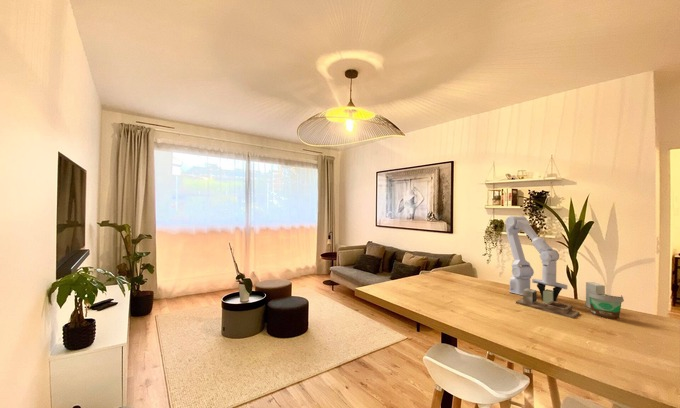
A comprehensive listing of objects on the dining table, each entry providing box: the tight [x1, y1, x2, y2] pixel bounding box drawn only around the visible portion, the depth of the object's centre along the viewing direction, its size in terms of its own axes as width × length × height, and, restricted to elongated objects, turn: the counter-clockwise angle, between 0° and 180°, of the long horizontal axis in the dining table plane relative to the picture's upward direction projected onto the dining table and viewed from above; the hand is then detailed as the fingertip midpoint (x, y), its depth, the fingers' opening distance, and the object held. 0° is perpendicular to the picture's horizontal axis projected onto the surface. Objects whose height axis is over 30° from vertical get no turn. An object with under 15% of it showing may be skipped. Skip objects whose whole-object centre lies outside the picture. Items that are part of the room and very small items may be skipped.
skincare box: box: [585, 281, 606, 309], centre depth 135 cm, size 6×4×12 cm
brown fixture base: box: [515, 288, 580, 319], centre depth 134 cm, size 23×9×7 cm, turn 36°
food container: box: [587, 292, 625, 320], centre depth 124 cm, size 12×6×10 cm, turn 62°
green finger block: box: [542, 288, 554, 304], centre depth 142 cm, size 4×5×6 cm
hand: (549, 299), depth 142 cm, fingers closed on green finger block, 4 cm apart
